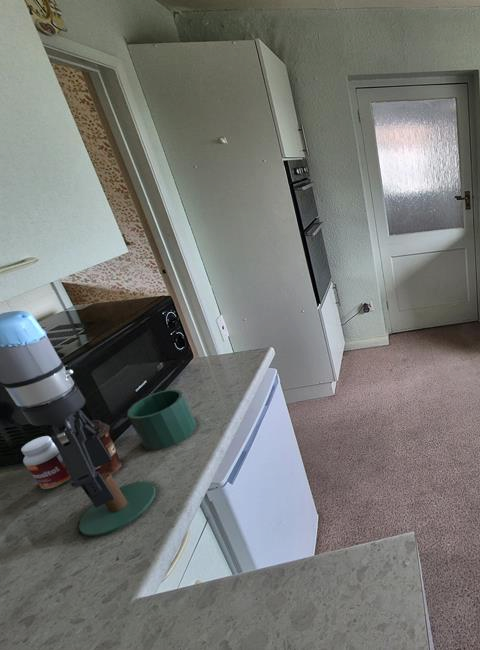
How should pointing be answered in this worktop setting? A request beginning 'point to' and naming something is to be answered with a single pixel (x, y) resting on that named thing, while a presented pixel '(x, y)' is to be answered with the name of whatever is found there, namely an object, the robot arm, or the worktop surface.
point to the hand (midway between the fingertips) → (104, 481)
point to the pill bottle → (45, 462)
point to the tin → (162, 419)
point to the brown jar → (107, 449)
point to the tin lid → (117, 507)
